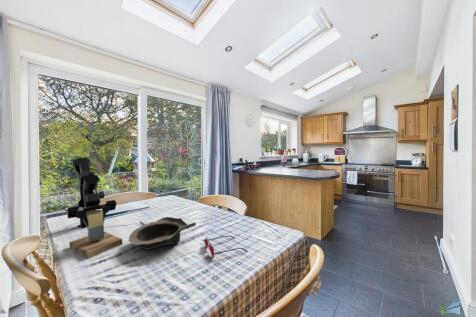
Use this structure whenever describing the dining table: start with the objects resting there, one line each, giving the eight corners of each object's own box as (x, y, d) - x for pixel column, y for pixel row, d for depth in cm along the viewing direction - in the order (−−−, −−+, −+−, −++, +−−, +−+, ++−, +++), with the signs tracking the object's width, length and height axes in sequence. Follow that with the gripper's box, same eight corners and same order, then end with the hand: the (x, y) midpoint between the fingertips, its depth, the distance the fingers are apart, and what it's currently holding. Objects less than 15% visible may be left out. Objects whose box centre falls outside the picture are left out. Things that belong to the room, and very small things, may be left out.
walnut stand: (69, 247, 94) (69, 241, 94) (102, 235, 106) (102, 230, 105) (88, 258, 84) (88, 252, 84) (122, 244, 96) (122, 239, 96)
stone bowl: (195, 235, 105) (194, 218, 104) (163, 266, 81) (161, 244, 80) (156, 228, 113) (154, 212, 112) (116, 254, 89) (113, 234, 88)
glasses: (202, 245, 95) (202, 235, 95) (235, 238, 102) (235, 229, 102) (211, 261, 82) (211, 249, 82) (248, 252, 89) (248, 241, 89)
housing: (87, 237, 95) (86, 212, 94) (102, 234, 99) (100, 209, 98) (89, 241, 91) (88, 215, 90) (104, 237, 95) (102, 212, 94)
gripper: (66, 189, 90) (69, 221, 82) (114, 183, 102) (121, 210, 95) (66, 203, 96) (69, 233, 89) (112, 196, 109) (118, 222, 101)
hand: (95, 224), depth 93 cm, fingers closed on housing, 5 cm apart
